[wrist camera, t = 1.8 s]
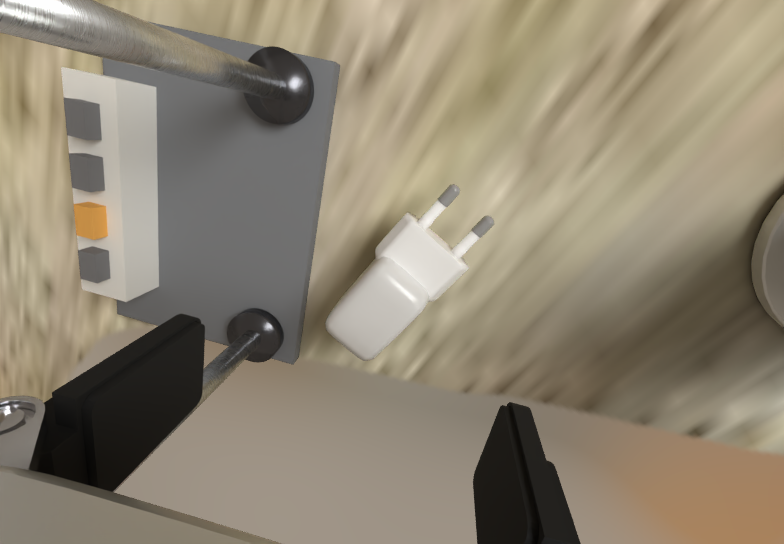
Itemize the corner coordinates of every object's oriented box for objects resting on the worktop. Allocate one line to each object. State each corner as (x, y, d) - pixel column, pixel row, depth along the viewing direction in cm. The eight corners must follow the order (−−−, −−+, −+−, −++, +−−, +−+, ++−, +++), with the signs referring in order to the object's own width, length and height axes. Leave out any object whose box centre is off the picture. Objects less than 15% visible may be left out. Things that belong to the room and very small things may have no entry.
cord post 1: (318, 58, 21) (-82, -191, 5) (309, 130, 23) (-30, 100, 7) (253, 44, 22) (-301, -229, 6) (248, 117, 23) (-209, 56, 7)
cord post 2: (286, 316, 27) (50, 553, 11) (281, 361, 29) (63, 628, 13) (236, 301, 28) (-62, 514, 12) (233, 347, 29) (-38, 591, 13)
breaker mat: (340, 65, 22) (309, 44, 18) (298, 357, 30) (268, 397, 25) (114, 16, 23) (28, -15, 19) (127, 308, 31) (68, 338, 26)
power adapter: (444, 168, 23) (440, 175, 18) (500, 220, 24) (513, 242, 18) (338, 288, 27) (308, 324, 22) (388, 330, 27) (371, 376, 22)
